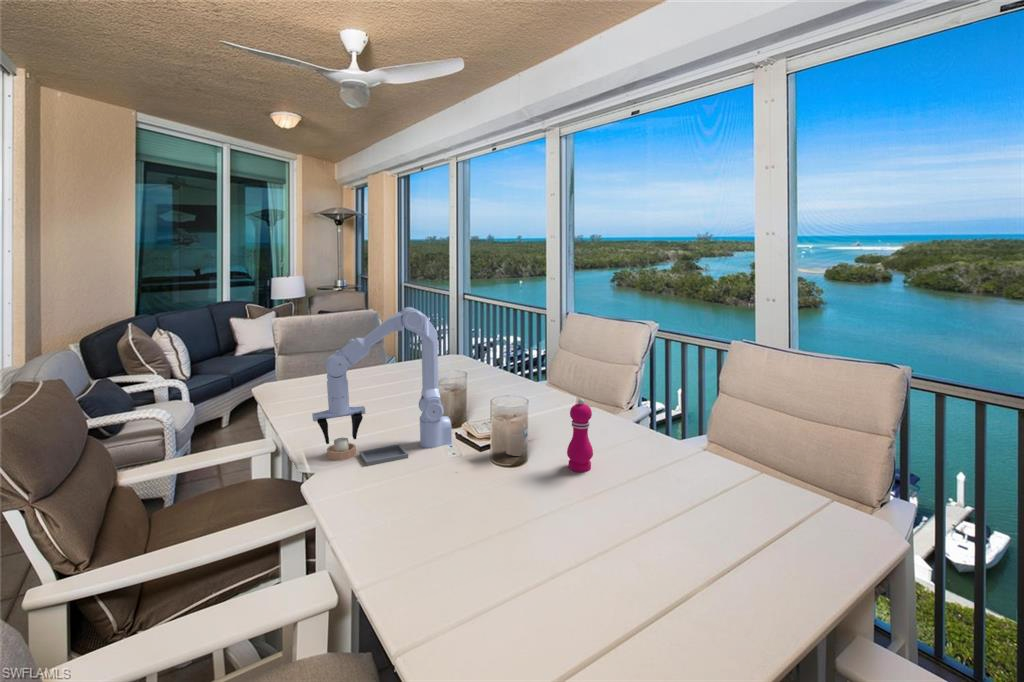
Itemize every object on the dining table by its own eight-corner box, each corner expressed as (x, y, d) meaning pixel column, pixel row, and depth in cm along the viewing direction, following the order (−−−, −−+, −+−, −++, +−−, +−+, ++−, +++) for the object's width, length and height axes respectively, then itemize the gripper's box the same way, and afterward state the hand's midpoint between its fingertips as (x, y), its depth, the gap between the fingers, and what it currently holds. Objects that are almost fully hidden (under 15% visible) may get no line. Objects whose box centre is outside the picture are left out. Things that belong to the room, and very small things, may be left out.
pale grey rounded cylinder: (347, 451, 147) (346, 436, 146) (350, 456, 143) (349, 440, 143) (333, 454, 145) (332, 439, 144) (336, 459, 141) (335, 443, 141)
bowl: (352, 450, 150) (352, 441, 149) (358, 459, 143) (357, 449, 142) (325, 455, 146) (325, 445, 145) (330, 464, 139) (329, 454, 138)
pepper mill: (595, 464, 139) (597, 396, 136) (588, 474, 132) (590, 403, 129) (571, 460, 142) (572, 394, 139) (563, 470, 135) (564, 400, 132)
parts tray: (399, 450, 150) (399, 444, 149) (408, 460, 142) (408, 453, 142) (359, 457, 144) (359, 451, 144) (366, 468, 136) (366, 462, 136)
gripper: (360, 389, 148) (363, 432, 150) (309, 396, 141) (312, 440, 143) (366, 394, 142) (368, 439, 144) (313, 402, 135) (316, 448, 137)
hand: (341, 440), depth 143 cm, fingers open, 7 cm apart
